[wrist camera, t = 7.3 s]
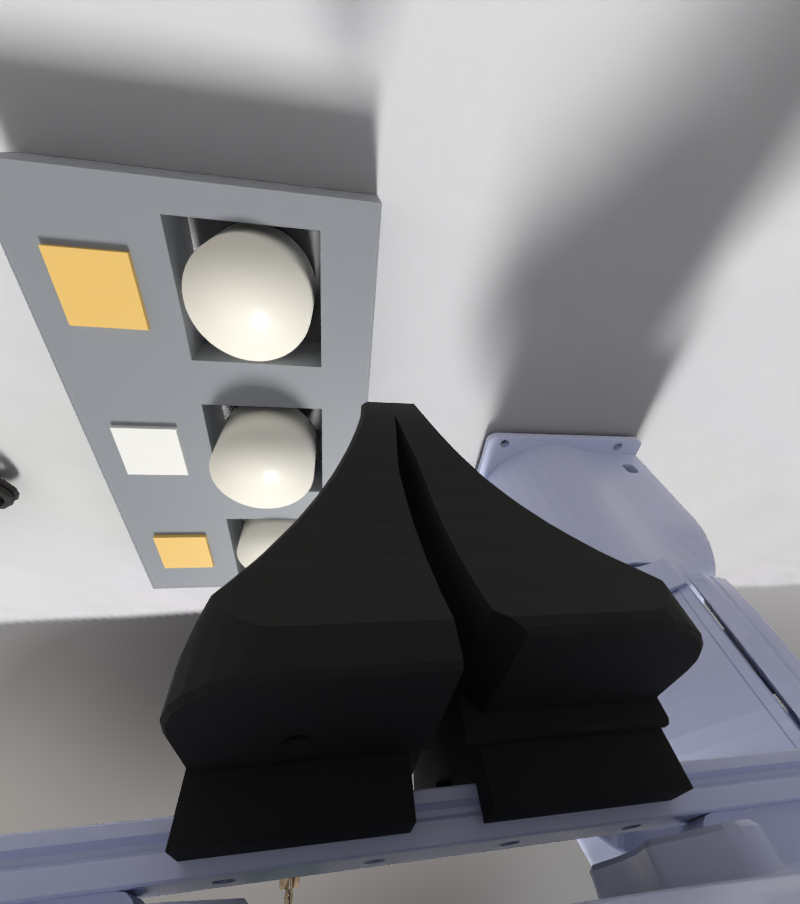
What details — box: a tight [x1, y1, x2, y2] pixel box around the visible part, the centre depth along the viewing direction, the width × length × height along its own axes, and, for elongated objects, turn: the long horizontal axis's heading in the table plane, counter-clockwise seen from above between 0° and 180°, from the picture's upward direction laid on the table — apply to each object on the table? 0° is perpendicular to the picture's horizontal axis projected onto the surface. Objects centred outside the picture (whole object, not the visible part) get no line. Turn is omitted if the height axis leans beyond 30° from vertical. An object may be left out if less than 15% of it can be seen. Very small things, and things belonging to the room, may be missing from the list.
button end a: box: [237, 519, 297, 568], centre depth 24 cm, size 4×4×3 cm
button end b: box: [182, 223, 316, 361], centre depth 15 cm, size 4×4×3 cm
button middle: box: [209, 406, 317, 509], centre depth 19 cm, size 4×4×3 cm
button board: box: [0, 152, 382, 589], centre depth 19 cm, size 12×21×3 cm, turn 173°
